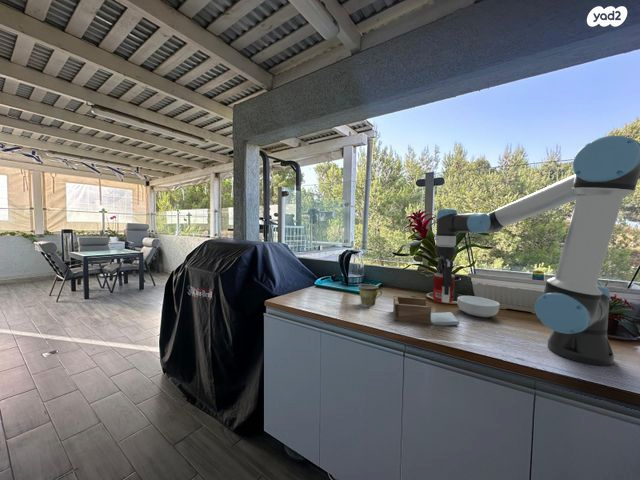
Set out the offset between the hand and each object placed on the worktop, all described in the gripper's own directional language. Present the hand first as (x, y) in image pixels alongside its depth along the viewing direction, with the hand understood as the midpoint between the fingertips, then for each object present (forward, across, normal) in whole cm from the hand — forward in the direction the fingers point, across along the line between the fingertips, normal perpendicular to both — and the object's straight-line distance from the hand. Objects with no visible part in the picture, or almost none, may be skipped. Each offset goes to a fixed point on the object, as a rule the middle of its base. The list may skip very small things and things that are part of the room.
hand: (443, 299), depth 110 cm
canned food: (0, 0, 0) cm, 0 cm away
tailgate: (+9, 0, 0) cm, 9 cm away
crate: (+10, 0, -13) cm, 16 cm away
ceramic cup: (+10, -14, -31) cm, 36 cm away
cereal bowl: (+10, -14, +18) cm, 25 cm away
